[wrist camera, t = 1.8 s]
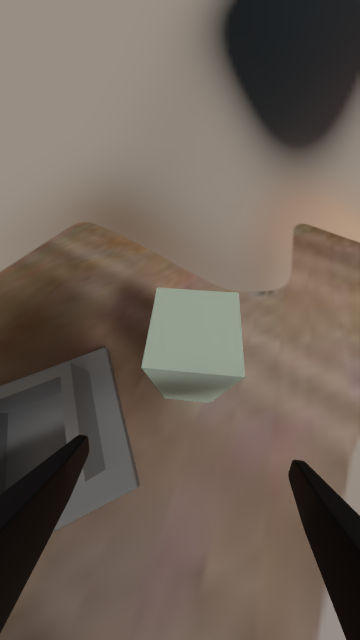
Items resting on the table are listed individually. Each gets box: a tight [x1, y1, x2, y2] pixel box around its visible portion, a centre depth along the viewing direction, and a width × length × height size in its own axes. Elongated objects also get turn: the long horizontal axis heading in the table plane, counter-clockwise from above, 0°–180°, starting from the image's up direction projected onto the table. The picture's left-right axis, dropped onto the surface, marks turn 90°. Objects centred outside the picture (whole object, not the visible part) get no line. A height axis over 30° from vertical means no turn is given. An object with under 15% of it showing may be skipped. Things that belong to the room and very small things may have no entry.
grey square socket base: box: [0, 347, 140, 531], centre depth 17 cm, size 14×14×5 cm
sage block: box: [141, 288, 245, 403], centre depth 16 cm, size 5×5×13 cm
